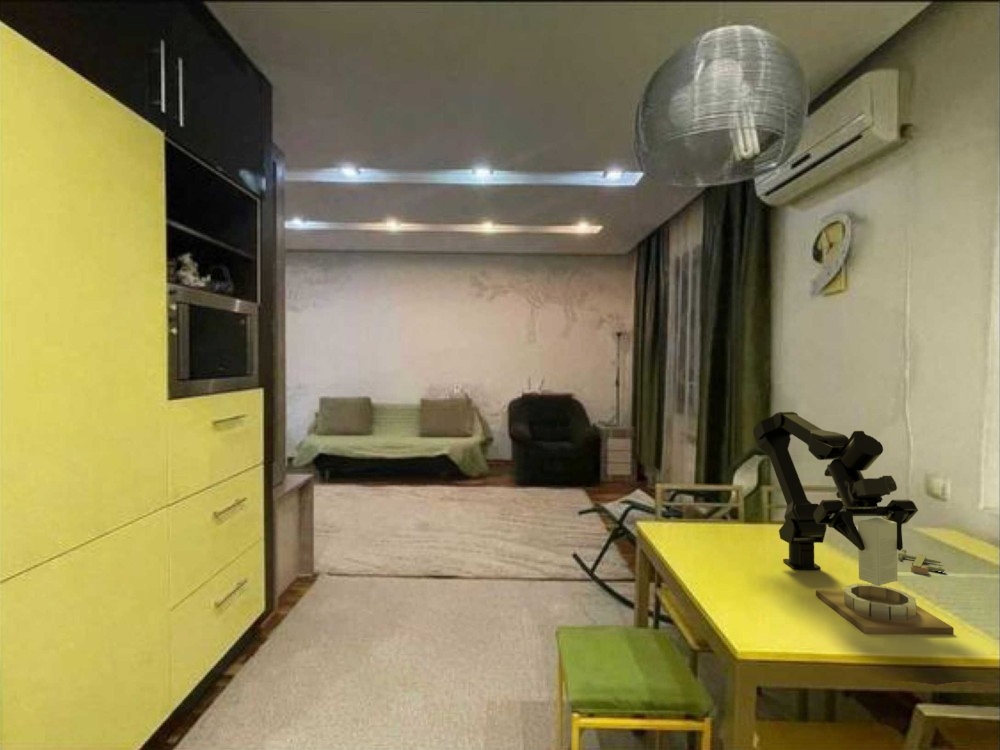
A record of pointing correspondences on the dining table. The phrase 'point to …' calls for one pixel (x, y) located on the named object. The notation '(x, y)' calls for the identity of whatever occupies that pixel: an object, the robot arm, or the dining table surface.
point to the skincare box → (878, 551)
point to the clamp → (920, 563)
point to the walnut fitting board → (872, 625)
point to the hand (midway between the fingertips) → (881, 549)
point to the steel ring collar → (877, 610)
